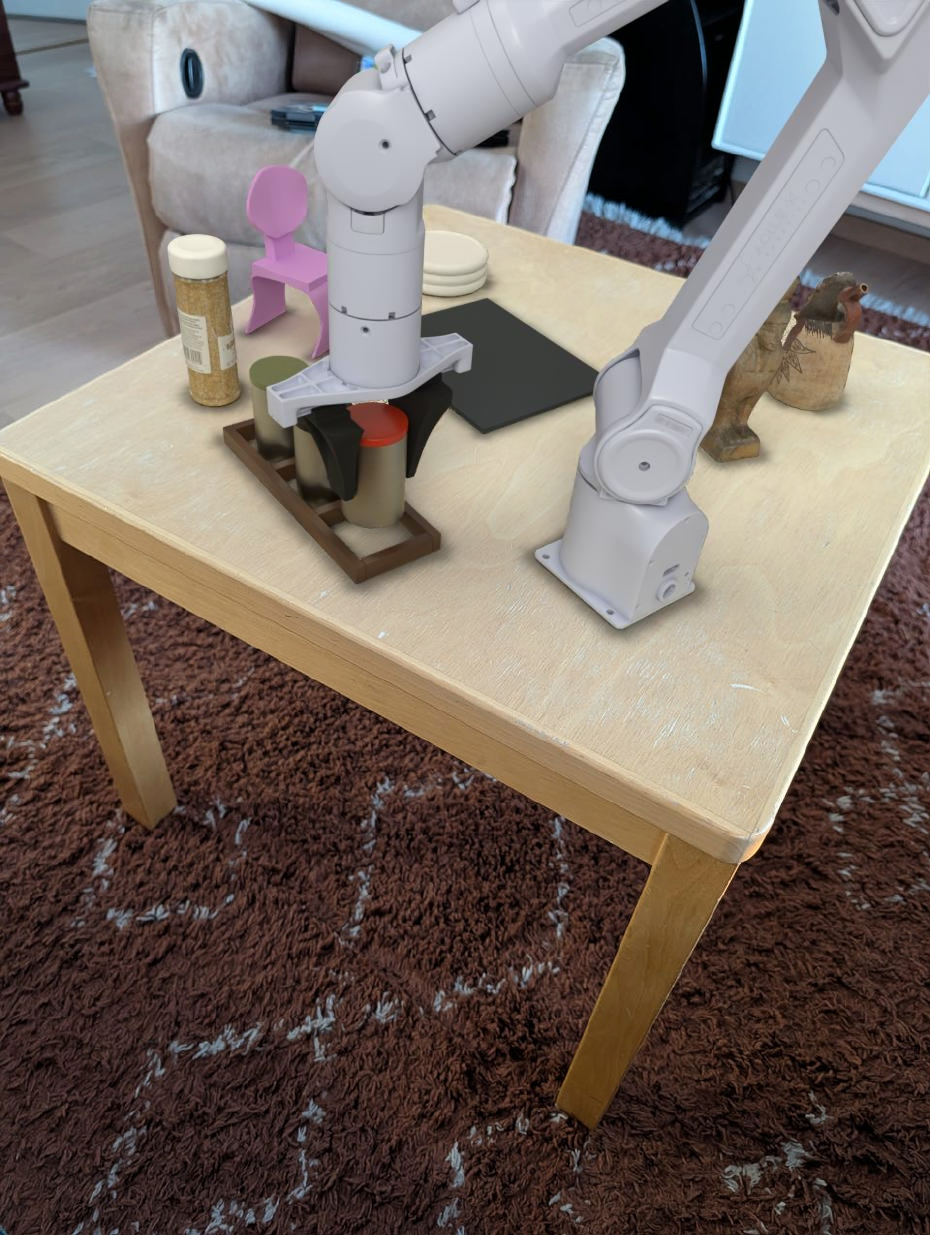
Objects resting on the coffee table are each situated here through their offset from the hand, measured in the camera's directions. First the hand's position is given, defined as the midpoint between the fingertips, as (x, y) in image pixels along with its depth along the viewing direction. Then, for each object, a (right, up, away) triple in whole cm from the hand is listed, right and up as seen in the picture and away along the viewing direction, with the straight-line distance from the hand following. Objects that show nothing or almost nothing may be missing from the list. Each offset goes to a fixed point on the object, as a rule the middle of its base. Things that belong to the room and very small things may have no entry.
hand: (373, 481), depth 65 cm
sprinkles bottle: (-16, +10, +16) cm, 25 cm away
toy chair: (-10, +18, +25) cm, 32 cm away
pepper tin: (-4, 0, +7) cm, 8 cm away
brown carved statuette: (+29, +8, +19) cm, 35 cm away
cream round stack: (+4, +28, +37) cm, 46 cm away
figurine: (+40, +12, +25) cm, 48 cm away
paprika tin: (0, -2, +2) cm, 2 cm away
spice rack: (-4, 0, +7) cm, 8 cm away
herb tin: (-8, +4, +11) cm, 14 cm away
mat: (+9, +15, +24) cm, 30 cm away
